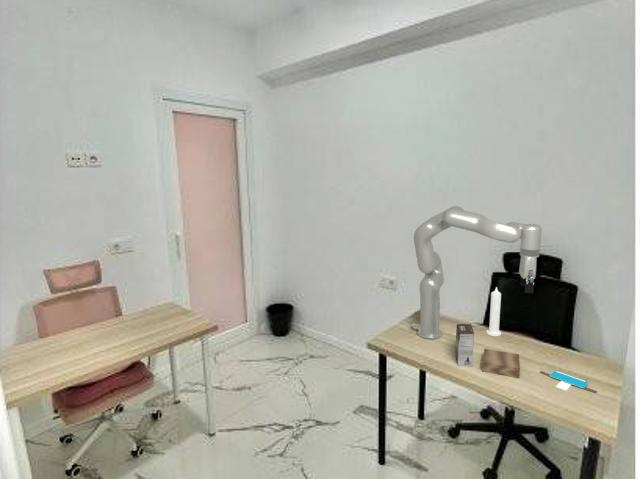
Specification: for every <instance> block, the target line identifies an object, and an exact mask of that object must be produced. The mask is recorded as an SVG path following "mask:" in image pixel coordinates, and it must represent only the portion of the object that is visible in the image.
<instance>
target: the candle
mask: <svg viewBox="0 0 640 479" xmlns="http://www.w3.org/2000/svg"><path fill="white" fill-rule="evenodd" d="M501 299H502V293H501V292H500V291H499V290H498V286H496V287H495V289H494V290H493V291H491V293H490V305H489V306H490V308H489V323H488V324H489V325H488V326H489V327H488V328H489V329H486V330H485V332H486V334H487V335H488V336H490V337H500V336H502V332H501V330H500V320H501V319H500V318H501V316H500V315H501V301H502V300H501Z"/></svg>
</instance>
